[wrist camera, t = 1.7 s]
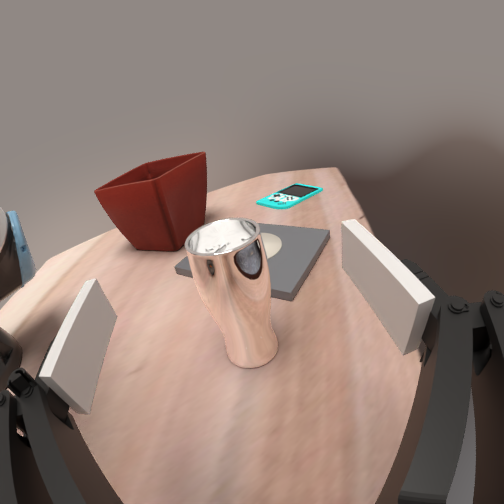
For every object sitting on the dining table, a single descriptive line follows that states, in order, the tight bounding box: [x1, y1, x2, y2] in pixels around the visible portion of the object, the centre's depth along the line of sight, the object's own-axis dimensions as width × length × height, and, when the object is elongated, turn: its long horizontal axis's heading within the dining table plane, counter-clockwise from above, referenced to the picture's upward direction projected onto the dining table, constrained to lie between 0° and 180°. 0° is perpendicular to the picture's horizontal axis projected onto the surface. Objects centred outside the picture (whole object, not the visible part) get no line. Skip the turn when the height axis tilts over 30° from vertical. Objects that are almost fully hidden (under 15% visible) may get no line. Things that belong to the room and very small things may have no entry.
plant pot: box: [94, 152, 207, 251], centre depth 58 cm, size 19×19×17 cm
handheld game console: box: [256, 183, 323, 209], centre depth 70 cm, size 10×16×1 cm, turn 130°
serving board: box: [175, 223, 330, 301], centre depth 48 cm, size 22×18×2 cm
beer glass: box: [185, 218, 278, 368], centre depth 27 cm, size 7×7×15 cm
